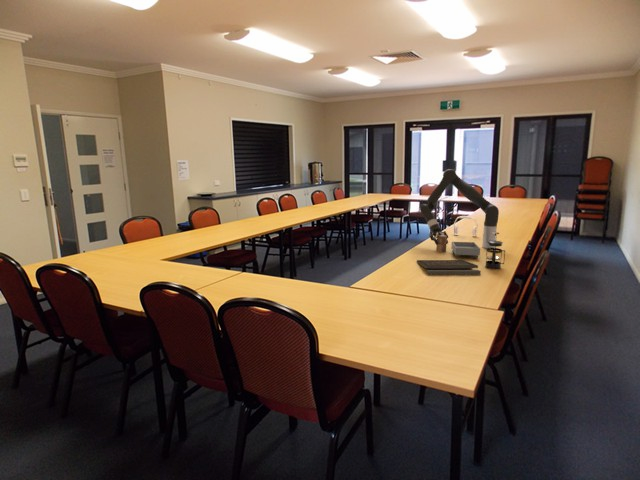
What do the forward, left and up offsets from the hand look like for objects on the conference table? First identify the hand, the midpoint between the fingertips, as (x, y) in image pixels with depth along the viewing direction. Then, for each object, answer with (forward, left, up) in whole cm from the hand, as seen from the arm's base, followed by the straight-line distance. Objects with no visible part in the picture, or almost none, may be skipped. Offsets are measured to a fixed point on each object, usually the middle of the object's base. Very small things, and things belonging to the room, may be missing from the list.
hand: (442, 243), depth 305 cm
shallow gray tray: (-14, +11, -6) cm, 19 cm away
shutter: (+3, +46, -7) cm, 46 cm away
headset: (-27, -64, -6) cm, 70 cm away
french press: (-27, +40, -6) cm, 49 cm away
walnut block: (+1, -1, -6) cm, 6 cm away
